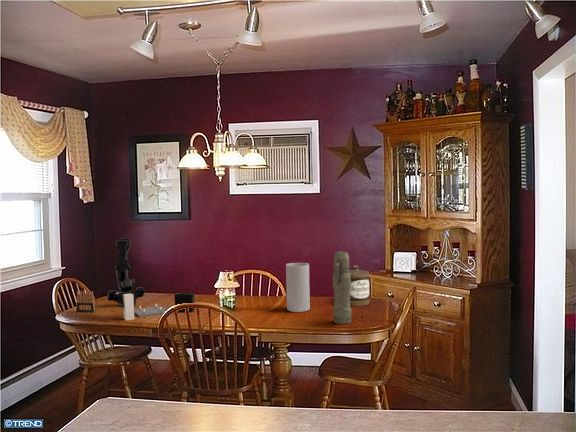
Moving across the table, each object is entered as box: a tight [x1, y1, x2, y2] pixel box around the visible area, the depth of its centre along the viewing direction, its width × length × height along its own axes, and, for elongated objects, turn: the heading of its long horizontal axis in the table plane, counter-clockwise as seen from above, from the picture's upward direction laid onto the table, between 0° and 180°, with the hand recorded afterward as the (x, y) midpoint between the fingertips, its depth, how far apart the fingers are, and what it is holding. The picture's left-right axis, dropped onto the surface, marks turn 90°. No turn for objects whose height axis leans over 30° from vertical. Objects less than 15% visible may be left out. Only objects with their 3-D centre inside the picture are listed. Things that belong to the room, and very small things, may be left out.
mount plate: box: [134, 303, 167, 318], centre depth 318 cm, size 16×16×3 cm
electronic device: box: [174, 292, 196, 313], centre depth 318 cm, size 4×10×10 cm, turn 78°
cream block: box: [122, 294, 135, 321], centre depth 303 cm, size 4×4×13 cm
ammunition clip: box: [76, 290, 96, 313], centre depth 323 cm, size 11×2×12 cm, turn 78°
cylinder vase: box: [285, 262, 311, 313], centre depth 315 cm, size 12×12×25 cm
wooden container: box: [349, 264, 370, 307], centre depth 328 cm, size 15×15×22 cm
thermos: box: [332, 250, 352, 325], centre depth 286 cm, size 9×12×35 cm
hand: (129, 307), depth 302 cm, fingers open, 6 cm apart
